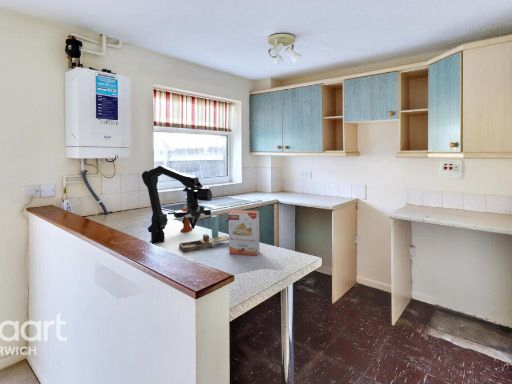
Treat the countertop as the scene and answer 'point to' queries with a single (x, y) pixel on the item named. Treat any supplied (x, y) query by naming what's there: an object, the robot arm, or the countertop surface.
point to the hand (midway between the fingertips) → (192, 228)
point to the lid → (212, 239)
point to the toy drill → (184, 222)
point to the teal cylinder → (214, 226)
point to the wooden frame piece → (194, 246)
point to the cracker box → (243, 232)
